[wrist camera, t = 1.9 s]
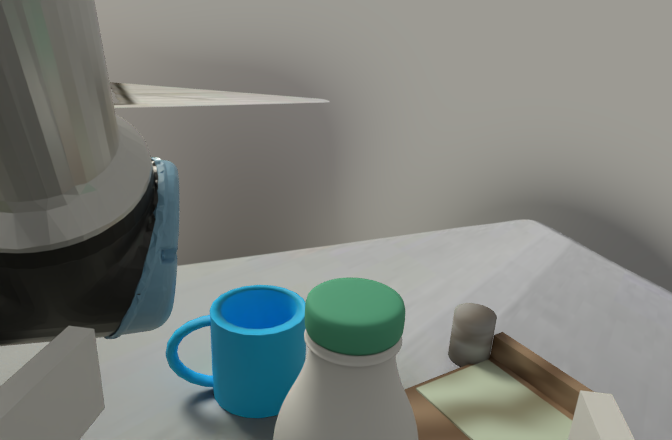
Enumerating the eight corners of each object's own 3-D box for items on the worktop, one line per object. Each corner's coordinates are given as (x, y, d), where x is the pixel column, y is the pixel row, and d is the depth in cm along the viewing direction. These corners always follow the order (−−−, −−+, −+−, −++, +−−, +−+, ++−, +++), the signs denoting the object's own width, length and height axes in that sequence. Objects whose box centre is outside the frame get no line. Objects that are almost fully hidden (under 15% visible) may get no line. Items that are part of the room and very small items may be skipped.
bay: (300, 402, 47) (302, 354, 45) (472, 339, 58) (479, 298, 56) (414, 546, 35) (422, 489, 33) (606, 434, 46) (620, 385, 44)
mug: (300, 357, 54) (302, 283, 51) (308, 415, 46) (311, 333, 43) (174, 363, 52) (169, 287, 49) (161, 424, 44) (154, 339, 41)
